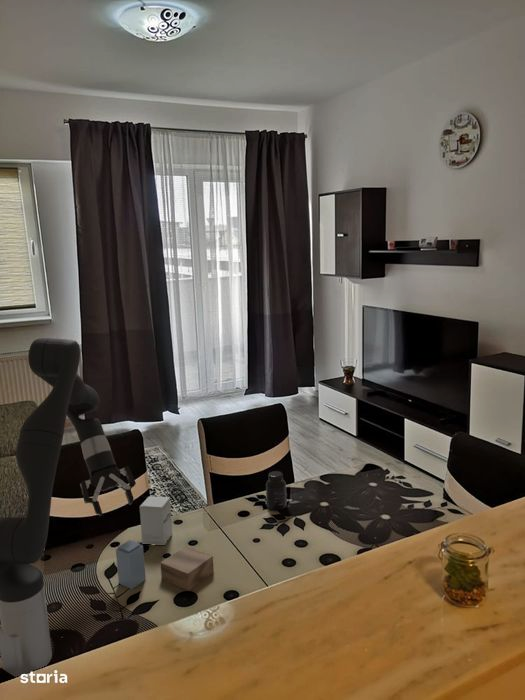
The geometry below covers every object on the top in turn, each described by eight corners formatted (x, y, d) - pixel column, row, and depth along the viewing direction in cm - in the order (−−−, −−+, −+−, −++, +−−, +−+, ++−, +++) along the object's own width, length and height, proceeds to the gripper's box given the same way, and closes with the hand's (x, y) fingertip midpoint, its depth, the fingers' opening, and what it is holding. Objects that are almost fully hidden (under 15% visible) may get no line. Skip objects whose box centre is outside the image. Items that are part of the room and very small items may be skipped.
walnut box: (189, 591, 147) (187, 573, 146) (161, 579, 153) (160, 562, 152) (213, 572, 155) (212, 556, 154) (186, 562, 161) (185, 546, 160)
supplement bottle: (263, 505, 194) (262, 472, 192) (281, 500, 197) (279, 468, 195) (272, 513, 188) (270, 479, 186) (290, 508, 191) (289, 475, 189)
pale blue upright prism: (131, 589, 148) (128, 552, 146) (118, 583, 151) (115, 547, 149) (145, 579, 152) (142, 543, 151) (132, 574, 155) (129, 538, 153)
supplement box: (164, 546, 169) (161, 507, 167) (141, 545, 171) (138, 506, 169) (173, 534, 176) (170, 496, 174) (151, 533, 178) (148, 495, 176)
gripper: (73, 459, 153) (91, 516, 149) (124, 443, 160) (143, 497, 155) (71, 466, 159) (89, 521, 155) (120, 450, 166) (138, 503, 162)
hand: (116, 509), depth 155 cm, fingers open, 8 cm apart
